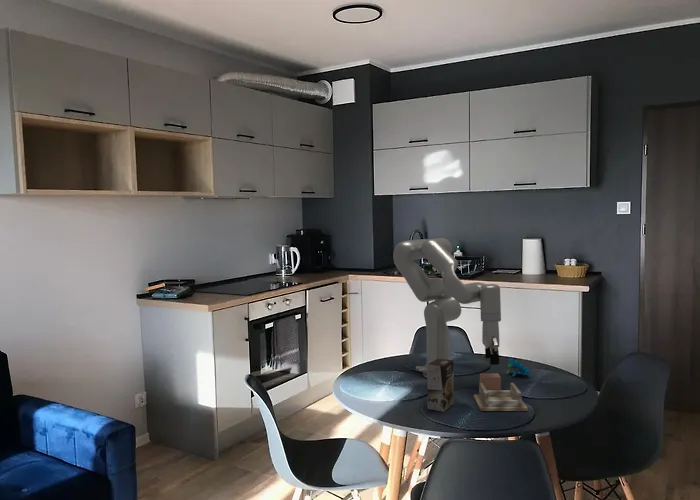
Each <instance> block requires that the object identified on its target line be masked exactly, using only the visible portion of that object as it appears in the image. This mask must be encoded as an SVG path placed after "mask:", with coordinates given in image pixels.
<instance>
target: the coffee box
mask: <svg viewBox="0 0 700 500" xmlns="http://www.w3.org/2000/svg"><path fill="white" fill-rule="evenodd" d="M453 373H454V360H452V359H450V360H447V359H436V360H434V361H432V362H431V363H429V364H428V378H427V409H428V410H432V411H433V410H434V411H438V412H442V413H443V412H445V411H447V410H448V409H449V408H450V407H452V406H453V405H454V377H453ZM451 405H452V406H451Z"/></svg>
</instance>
